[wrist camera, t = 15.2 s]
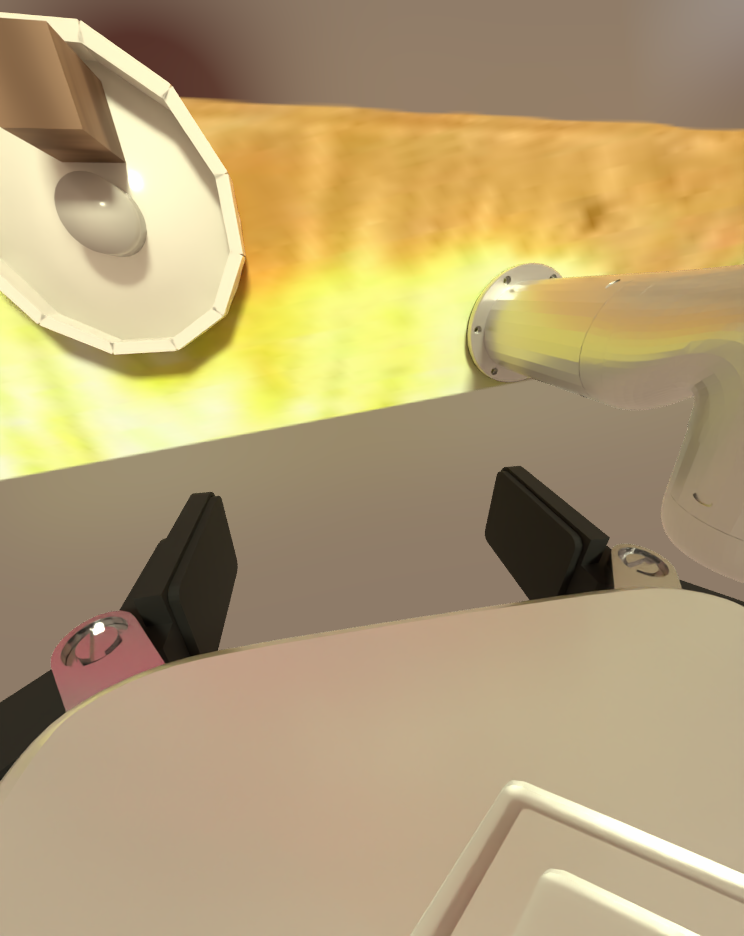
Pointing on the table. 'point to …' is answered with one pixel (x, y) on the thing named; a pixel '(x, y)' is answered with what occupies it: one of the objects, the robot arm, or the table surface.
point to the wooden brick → (53, 96)
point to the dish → (167, 201)
